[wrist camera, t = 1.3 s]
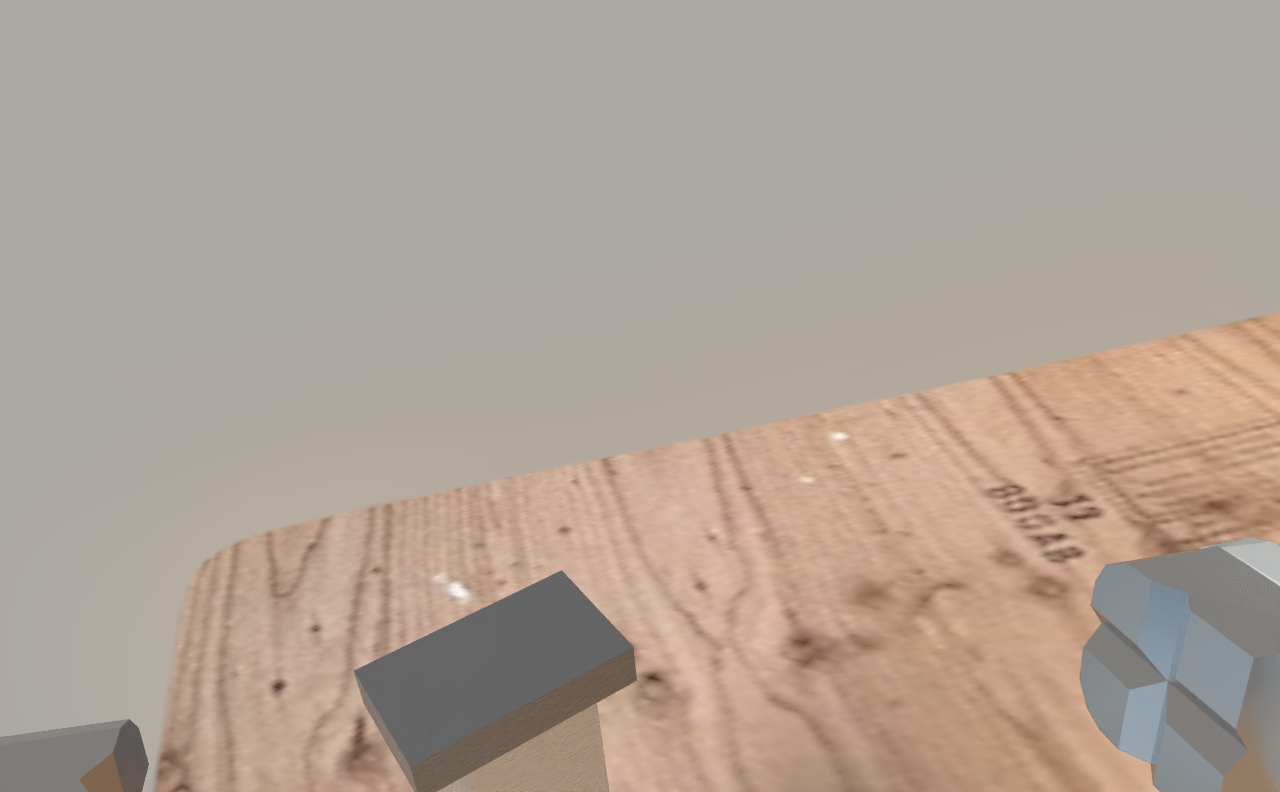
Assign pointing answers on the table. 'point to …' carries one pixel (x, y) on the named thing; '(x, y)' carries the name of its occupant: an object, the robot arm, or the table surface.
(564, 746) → the column
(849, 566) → the table surface
